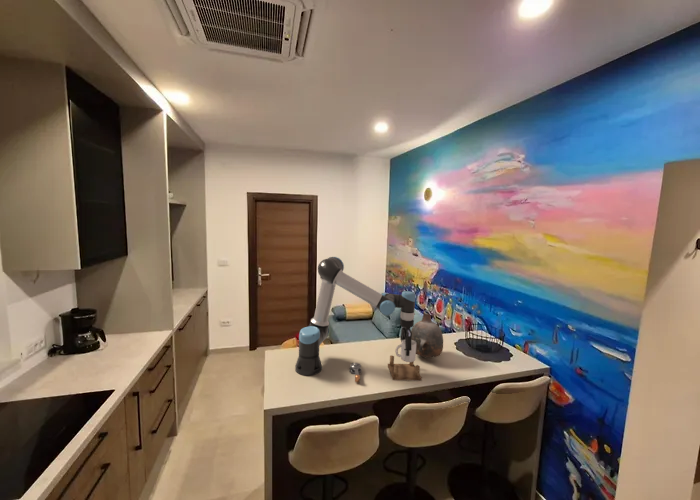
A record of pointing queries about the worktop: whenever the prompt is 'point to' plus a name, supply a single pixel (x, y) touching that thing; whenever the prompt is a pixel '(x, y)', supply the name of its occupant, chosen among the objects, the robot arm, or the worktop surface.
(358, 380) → the grey metal tool
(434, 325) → the jug
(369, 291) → the robot arm
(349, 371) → the nut washer
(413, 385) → the worktop surface
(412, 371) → the peg rest
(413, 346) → the mug
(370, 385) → the worktop surface
